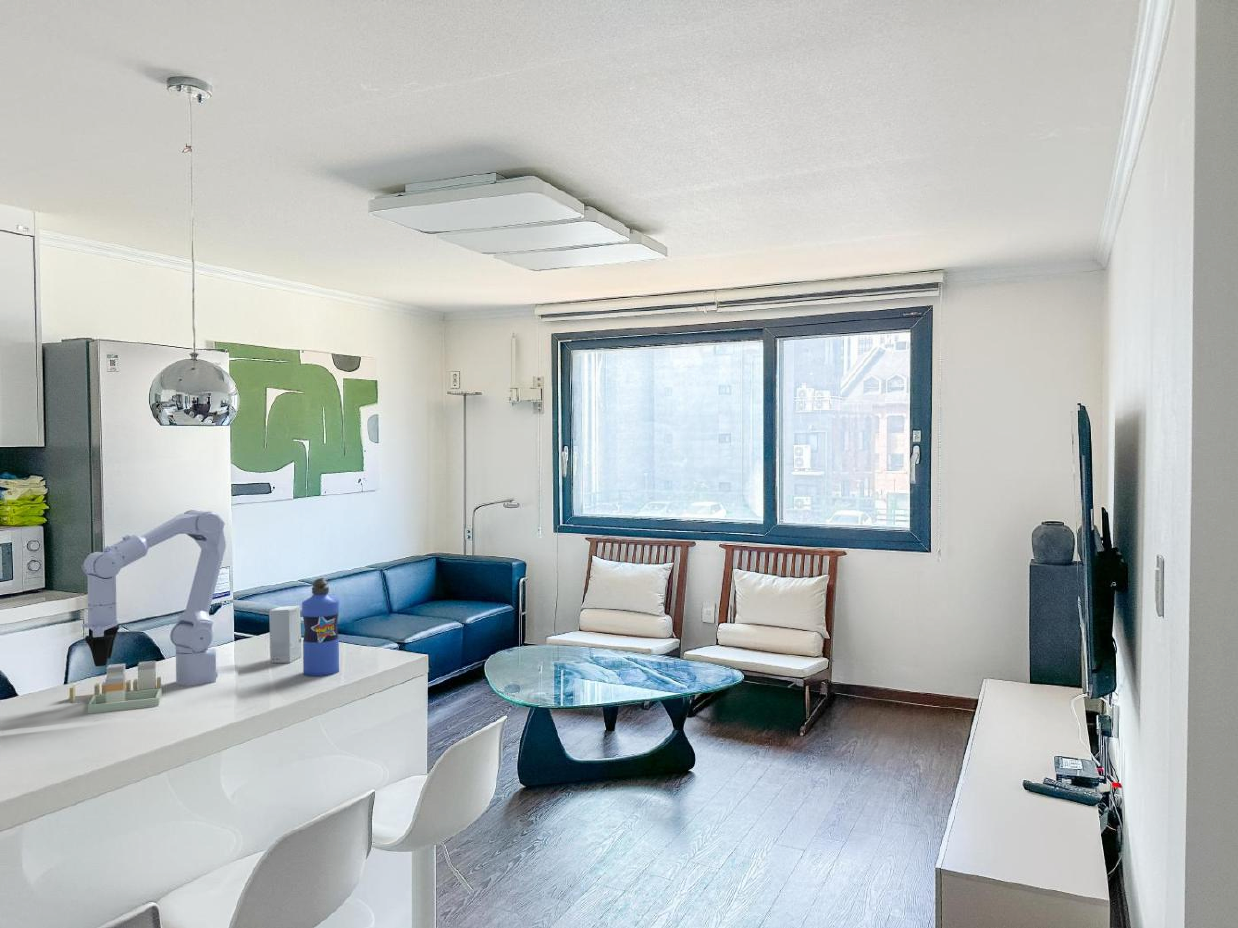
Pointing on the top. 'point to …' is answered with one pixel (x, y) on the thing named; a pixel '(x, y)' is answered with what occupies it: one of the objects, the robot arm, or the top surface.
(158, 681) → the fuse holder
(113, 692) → the marked fuse
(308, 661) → the blue bottle
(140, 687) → the fuse near base
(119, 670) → the block
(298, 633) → the skincare box
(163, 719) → the top surface
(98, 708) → the tray
